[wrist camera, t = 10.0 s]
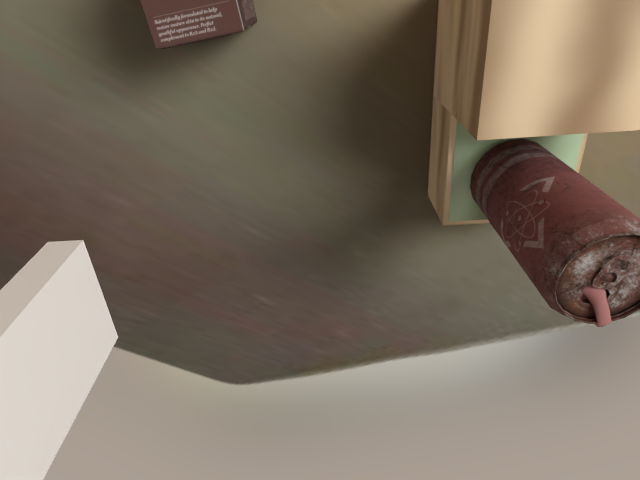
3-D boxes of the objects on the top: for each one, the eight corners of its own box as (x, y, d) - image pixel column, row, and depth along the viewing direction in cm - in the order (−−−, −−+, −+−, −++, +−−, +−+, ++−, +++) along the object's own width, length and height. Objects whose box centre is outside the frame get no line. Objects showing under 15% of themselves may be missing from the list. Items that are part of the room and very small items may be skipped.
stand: (427, 194, 42) (463, 266, 32) (439, -16, 34) (493, -13, 23) (539, 188, 42) (612, 257, 31) (579, -27, 33) (698, -28, 23)
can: (477, 224, 37) (557, 346, 24) (460, 153, 34) (541, 253, 22) (554, 199, 36) (677, 314, 23) (543, 124, 33) (679, 211, 20)
